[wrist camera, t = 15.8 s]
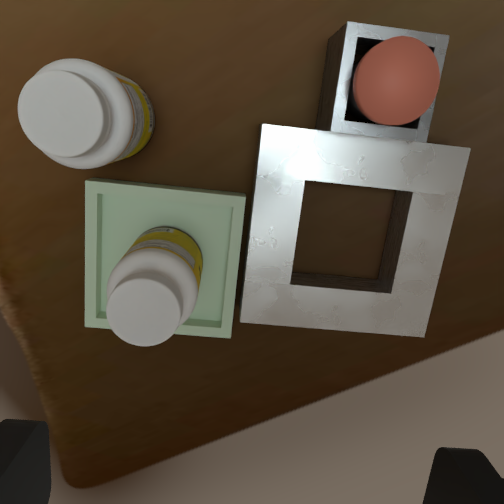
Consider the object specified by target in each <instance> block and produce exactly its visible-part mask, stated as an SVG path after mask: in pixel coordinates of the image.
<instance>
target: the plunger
mask: <svg viewBox="0 0 504 504" xmlns="http://www.w3.org/2000/svg"><path fill="white" fill-rule="evenodd" d="M439 82H440V71H439V65H438V62H437V59H436V57H435V55H434V53H433V52H432V51H431V49H430V48H429V47H428V46H427V45H426V44H425V43H423V42H422V41H420V40H418V39H416V38H413V37H408V36H396V37H392V38H389V39H387V40H384V41H383V42H381V43H379V44H377V45H375V46H374V47H373V48H371V49H370V50H369V51H368V52H367V53H366V54H365V55H364V56H363V57H362V59H361V60H360V62H358V63H356V64H355V65H353V68H352V74H351V80H350V86H349V92H348V98H347V104H346V110H347V111H348V112H349V113H350V114H351V115H353V116H355V117H357V118H360V119H370V120H371V121H373V122H375V123H378V124H382V125H402V124H406V123H409V122H411V121H413V120H415V119H417V118H418V117H420V116H421V115H422V114H423V113H425V112H426V110H427V109H428V108H429V107H430V105H431V104H432V102H433V101H434V99H435V97H436V94H437V91H438V88H439Z"/></svg>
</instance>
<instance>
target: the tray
mask: <svg viewBox="0 0 504 504" xmlns="http://www.w3.org/2000/svg"><path fill="white" fill-rule="evenodd" d="M245 201H246V195H245V193H238V192H228V191H218V190H209V189H199V188H190V187H180V186H171V185H161V184H152V183H142V182H133V181H123V180H114V179H104V178H94V177H93V178H91V179H88V180H85V327H93V328H106V329H111V327H110V325H109V323H108V320H107V316H106V306H107V301H108V299H107V283H108V279H109V277H110V274H111V272H112V270H113V269H114V267H115V266H116V265H117V263H118V262H119V261H120V260H121V258H122V257H123V256H124V255H125V254H126V252H127V251H128V250H129V248H130V247H131V246H132V245H133V243H134V242H135V241H136V239H137V238H138V237H139V236H140V235H141V234H142V233H144V232H145V231H147V230H148V229H151V228H153V227H157V226H163V225H167V226H174V227H178V228H180V229H183V230H184V231H186V232H188V233H189V234H190V235H191V236H192V237H193V238H194V239H195V240H196V241H197V243H198V244H199V246H200V248H201V251H202V255H203V269H202V274H201V280H200V286H199V292H198V297H197V302H196V305H195V308H194V310H193V312H192V313H191V315H190V316H189V318H188V319H187V320H186V321H185V322H184V323H183V324H182V325H180V326H179V327H178V328H177V330H176V331H175V332H174V334H182V335H194V336H207V337H220V338H231V330H232V321H233V312H234V302H235V293H236V284H237V275H238V265H239V256H240V247H241V238H242V228H243V219H244V210H245Z"/></svg>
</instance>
